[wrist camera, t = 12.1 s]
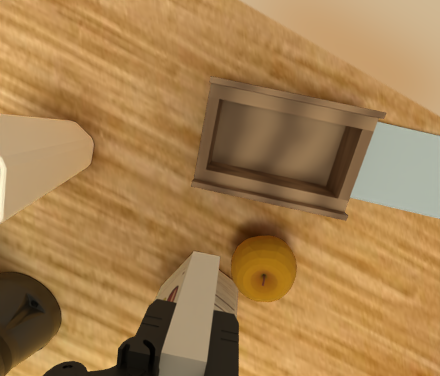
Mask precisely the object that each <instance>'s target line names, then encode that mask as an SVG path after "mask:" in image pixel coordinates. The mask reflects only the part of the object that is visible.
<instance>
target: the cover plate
mask: <svg viewBox="0 0 440 376" xmlns="http://www.w3.org/2000/svg"><path fill="white" fill-rule="evenodd" d="M350 198H354V199H358V200H363V201H367V202H371V203H375V204H380V205H384V206H388V207H392V208H397V209H401V210H405V211H409V212H413V213H418V214H422V215H426V216H430V217H435V218H439V219H440V136H437V135H433V134H429V133H424V132H420V131H416V130H411V129H407V128H403V127H398V126H394V125H390V124H385V123H381V122H377V125H376V127H375V130H374V133H373V135H372V138H371V141H370V144H369V146H368V149H367V152H366V155H365V157H364V160H363V163H362V166H361V168H360V171H359V174H358V177H357V179H356V182H355V185H354V187H353V190H352V193H351V196H350Z"/></svg>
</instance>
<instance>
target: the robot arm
mask: <svg viewBox="0 0 440 376" xmlns="http://www.w3.org/2000/svg"><path fill="white" fill-rule="evenodd" d="M219 263H220V256H216V255H211V254H206V253H201V252H196V251H193V254H192V257H191V260H190V264H189V267H188V270H187V273H186V276H185V279H184V282H183V286H182V289H181V292H180V295H179V298H178V301H177V303H175V302H170V301H165V300H161V299H156V300H155V301H154V302H153V303H152V304H151V305H149V307H148V309H147V311H146V314H145V316H144V318H143V320H142V322H141V325H140V327H139V329H138V331H137V333H136V336H135V337H131V338H129V339H127V340H126V341H124V342H123V343H122V344H121V346H120V347H119V348H118V357H117V365H116V366H114V367H111V368H109V369H105V370H99V371H90V372H87V369H86V367H85V366H84V365H82V364H81V363H79V362H75V361H70V362H63V363H61V364H58V365H56V366H54V367H53V368H51V369H50V370H49V371H47V372H46V373H45V374H44V375H43V376H239V375H238V372H239V344H238V342H239V335H238V334H239V323H238V321H237V319H236V317H235V315H234V314H232V313H227V312H223V311H218V310H214V302H215V294H216V286H217V278H218V271H219ZM60 323H61V313H60V309H59V306H58V304H57V302H56V300H55V298H54V297H53V296H52V294H51V293H50V292H49V291H48V290H47V289H46V288H45V287H44V286H43V285H42V284H40V283H39V282H38V281H36V280H34V279H32V278H30V277H28V276H26V275H23V274H19V273H14V272H2V273H0V376H5V375H6V374H7V373H8V372H9V371H10V370H11V369H12V368H13V367H15V366H16V365H18V364H19V363H21V362H22V361H24V360H25V359H27V358H28V357H29V356H31V355H32V354H34V353H35V352H36V351H38V350H40V349H42V348H43V347H44V346H45V345H47V344H48V342H49V341H50V340H51V339H52V338H53V337H54V335H55V334H56V333H57V331H58V329H59V327H60Z"/></svg>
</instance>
